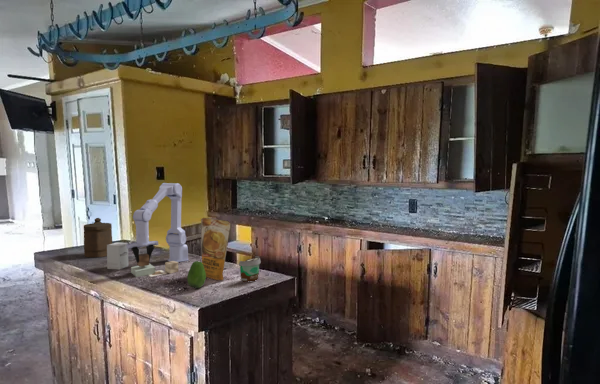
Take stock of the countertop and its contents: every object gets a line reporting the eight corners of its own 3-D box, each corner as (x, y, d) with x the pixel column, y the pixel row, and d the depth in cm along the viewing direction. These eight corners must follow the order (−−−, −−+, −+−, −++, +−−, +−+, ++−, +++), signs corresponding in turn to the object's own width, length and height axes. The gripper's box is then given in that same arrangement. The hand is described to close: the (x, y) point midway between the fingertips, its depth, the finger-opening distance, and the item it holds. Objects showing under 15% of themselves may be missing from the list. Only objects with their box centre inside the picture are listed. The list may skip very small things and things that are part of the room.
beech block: (173, 270, 189) (172, 260, 188) (178, 272, 186) (178, 262, 186) (165, 272, 185) (165, 262, 185) (170, 274, 183) (170, 264, 182)
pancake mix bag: (206, 271, 187) (206, 216, 185) (232, 279, 175) (232, 220, 173) (195, 274, 182) (195, 218, 180) (221, 282, 170) (220, 222, 168)
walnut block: (146, 263, 185) (146, 253, 185) (149, 265, 182) (149, 255, 182) (137, 264, 183) (136, 254, 182) (139, 266, 179) (139, 256, 179)
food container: (249, 284, 167) (249, 263, 166) (239, 282, 170) (238, 261, 169) (265, 277, 177) (266, 257, 177) (255, 275, 181) (255, 255, 180)
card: (161, 270, 188) (161, 269, 188) (167, 274, 182) (167, 273, 182) (145, 273, 183) (145, 272, 183) (150, 277, 177) (150, 276, 177)
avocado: (204, 290, 159) (204, 263, 158) (185, 290, 158) (185, 263, 157) (207, 284, 167) (207, 258, 166) (189, 284, 166) (189, 258, 165)
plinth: (150, 269, 189) (149, 263, 189) (155, 273, 182) (155, 267, 182) (131, 273, 183) (130, 267, 183) (136, 277, 176) (135, 271, 176)
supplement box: (119, 270, 189) (118, 245, 188) (106, 269, 190) (106, 244, 189) (129, 266, 196) (128, 242, 195) (116, 265, 197) (116, 241, 196)
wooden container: (99, 251, 230) (98, 215, 228) (118, 253, 225) (117, 217, 223) (78, 256, 216) (76, 219, 214) (97, 258, 211) (96, 220, 209)
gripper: (128, 236, 174) (129, 265, 175) (160, 233, 183) (160, 260, 184) (124, 234, 179) (125, 262, 180) (155, 231, 188) (155, 257, 189)
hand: (143, 261), depth 182 cm, fingers closed on walnut block, 4 cm apart
